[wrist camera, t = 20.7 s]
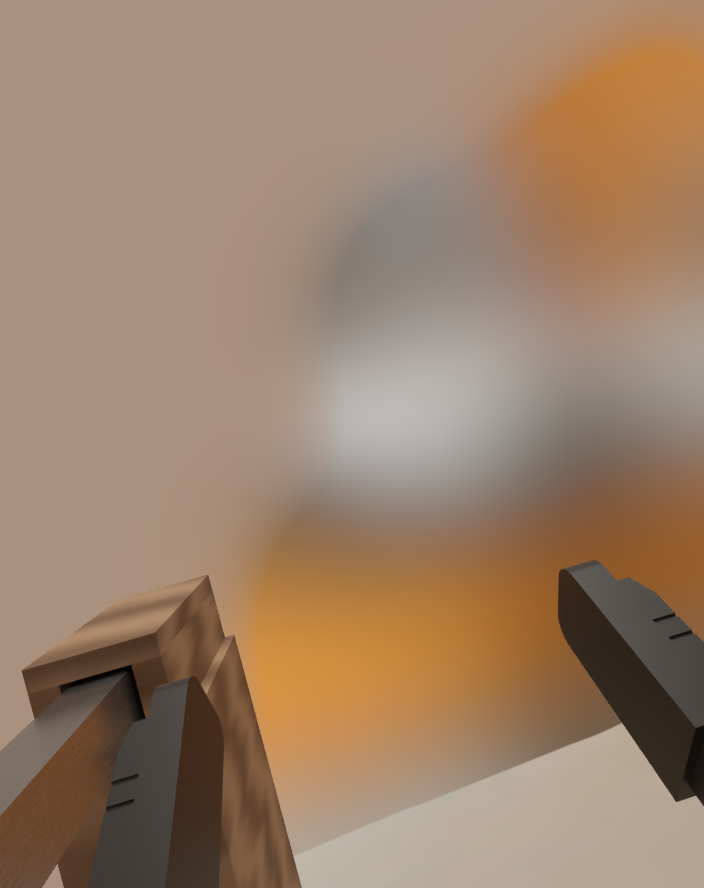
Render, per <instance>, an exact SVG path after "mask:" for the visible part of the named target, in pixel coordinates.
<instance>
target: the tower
mask: <svg viewBox="0 0 704 888" xmlns="http://www.w3.org/2000/svg"><path fill="white" fill-rule="evenodd" d="M128 665H132V669H133V673H134V676H135V680H136V684H137V688H138V691H139V695H140V699H141V703H142V706H143V710H144V714H145V718H146V719H147V718H149V713H150V707H151V701H152V696H153V693H154V690H155V688H156V687H157V686H159V685H163V684H166V683H170V682H173V681H177V680H180V679H183V678H187V677H190V676H195V677H196V678H197V679H198V681H199V683H200V684H201V686H202V688H203V690H204V691H205V693H206V695H207V697H208V699H209V700H210V702H211V704H212V706H213V707H214V709H215V711H216V713H217V715H218V717H219V719H220V722H221V726H222V731H223V738H224V764H223V793H222V821H221V849H220V878H219V888H302V887H301V883H300V880H299V876H298V872H297V869H296V865H295V861H294V857H293V854H292V850H291V846H290V842H289V839H288V835H287V831H286V827H285V824H284V820H283V816H282V813H281V809H280V805H279V801H278V797H277V794H276V790H275V786H274V782H273V779H272V775H271V771H270V767H269V764H268V760H267V756H266V752H265V749H264V745H263V741H262V737H261V734H260V730H259V726H258V722H257V719H256V715H255V712H254V707H253V704H252V700H251V696H250V692H249V689H248V685H247V681H246V677H245V674H244V670H243V666H242V662H241V659H240V655H239V651H238V647H237V644H236V640H235V636H234V635H233V636H230V637H226V638H225V636H224V633H223V629H222V626H221V621H220V618H219V614H218V610H217V606H216V603H215V599H214V595H213V591H212V588H211V584H210V580H209V577H208V575H206V576H202V577H198V578H195V579H191V580H188V581H184V582H181V583H177V584H173V585H170V586H166V587H163V588H159V589H156V590H152V591H148V592H145V593H141V594H138V595H134V596H130V597H127V598H123V599H120V600H118V601H117V602H115V603H114V604H113V605H111V606H110V607H108V608H107V609H105V610H104V611H103V612H101V613H100V614H99V615H97V616H96V617H95V618H93V619H92V620H90V621H89V622H88V623H86V624H85V625H84V626H82V627H81V628H79V629H78V630H77V631H75V632H74V633H73V634H71V635H70V636H69V637H67V638H66V639H64V640H63V641H62V642H60V643H59V644H58V645H56V646H55V647H53V648H52V649H51V650H49V651H48V652H47V653H45V654H44V655H42V656H41V657H40V658H39V659H37V660H36V661H34V662H33V663H31V664H30V665H29V666H27V667H26V668H25V669H24V670H22V673H23V677H24V681H25V685H26V688H27V692H28V696H29V700H30V704H31V707H32V711H33V715H34V718H36V717H37V716H39V715H40V714H41V713H42V712H43V711H44V710H45V709H46V708H47V707H48V706H49V705H50V704H51V703H52V702H54V701H55V700H56V699H57V698H58V697H59V696H60V695H61V694H62V693H63V692H64V691H65V690H66V689H67V688H69V687H70V686H71V685H72V684H73V683H74V682H75V681H76V680H79V679H83V678H86V677H90V676H93V675H97V674H100V673H103V672H107V671H110V670H114V669H117V668H121V667H124V666H128ZM111 786H112V783H111V780H110V782H109V784H108V785H107V787H106V788H105V790H104V791H103V793H102V794H101V796H100V798H99V799H98V801H97V802H96V804H95V805H94V807H93V809H92V810H91V812H90V813H89V815H88V816H87V818H86V819H85V821H84V823H83V824H82V826H81V827H80V829H79V830H78V832H77V834H76V835H75V837H74V838H73V840H72V841H71V843H70V845H69V846H68V848H67V849H66V851H65V852H64V854H63V855H62V857H61V859H60V860H59V862H58V867H59V871H60V874H61V878H62V882H63V886H64V888H88V884H89V880H90V875H91V871H92V866H93V862H94V857H95V852H96V848H97V843H98V839H99V834H100V830H101V825H102V820H103V816H104V814H105V813H106V808H105V807H106V802H107V798H108V793H109V788H111Z"/></svg>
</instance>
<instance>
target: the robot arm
mask: <svg viewBox="0 0 704 888" xmlns="http://www.w3.org/2000/svg"><path fill="white" fill-rule="evenodd" d="M558 619H559V624H560V627H561V630H562V633H563V635H564V637H565V639H566V641H567V643H568V644H569V646H570V647H571V649H572V650H573V652H574V653H575V654H576V656H577V657H578V659H579V660H580V662H581V663H582V665H583V666H584V668H585V669H586V671H587V672H588V674H589V675H590V677H591V678H592V679H593V681H594V682H595V684H596V685H597V687H598V688H599V690H600V691H601V693H602V694H603V696H604V697H605V698H606V700H607V701H608V703H609V704H610V706H611V707H612V709H613V710H614V712H615V713H616V715H617V716H618V717H619V719H620V720H621V722H622V723H623V725H624V726H625V728H626V729H627V731H628V732H629V734H630V735H631V736H632V738H633V739H634V741H635V742H636V744H637V745H638V747H639V748H640V750H641V751H642V752H643V754H644V755H645V757H646V758H647V760H648V761H649V763H650V764H651V766H652V767H653V769H654V770H655V771H656V773H657V774H658V776H659V777H660V779H661V780H662V782H663V783H664V785H665V786H666V788H667V789H668V790H669V792H670V793H671V795H672V796H673V798H674V799H675V801H676V802H678V801H681V800H684V799H687V798H690V797H693V796H697V797H698V799H699V800H700V802H701V803H702V804H703V806H704V642H703V641H702V640H701V639H700V638H699V637H698V636H697V635H696V634H695V635H694V634H693V633H692V630H691V629H690V628H689V627H688V626H687V625H686V624H685V623H684V622H683V621H682V620H681V618H680V617H676V615H675V612H674V611H673V610H672V609H671V608H670V607H669V606H668V605H667V604H666V603H665V602H664V601H663V600H662V599H661V598H660V597H659V596H658V595H657V594H656V593H655V592H653V591H652V590H650V589H648V588H647V587H644V586H643V585H641V584H640V583H638V582H636V581H634V580H632V579H631V578H625V579H621V580H618V581H617V580H616V579H615V578H614V577H613V576H612V575H611V574H610V573H609V571H608V570H607V569H606V568H605V567H604V566H603V565H602V564H601V563H600V562H598V561H596V560H592V561H588V562H585V563H581V564H578V565H575V566H571V567H568V568H564V569H562V570H560V572H559V592H558ZM223 764H224V738H223V731H222V726H221V722H220V719H219V717H218V715H217V713H216V711H215V709H214V707H213V706H212V704H211V702H210V700H209V699H208V697H207V695H206V693H205V691H204V690H203V688H202V686H201V684H200V683H199V681H198V679H197V678H196V677H195V676H190V677H187V678H183V679H180V680H177V681H173V682H170V683H166V684H163V685H159V686H157V687H156V688H155V690H154V693H153V696H152V701H151V707H150V713H149V718H147V719H144V720H140V721H137V722H134V723H133V724H132V726H131V728H130V730H129V732H128V734H127V735H126V737H125V739H124V741H123V743H122V744H121V746H120V748H119V750H118V752H117V756H116V761H115V766H114V770H113V775H112V779H111V783H112V786H111V788H109V793H108V798H107V802H106V807H105V808H106V813H105V814H104V816H103V820H102V825H101V830H100V834H99V839H98V843H97V848H96V852H95V857H94V862H93V866H92V871H91V875H90V880H89V884H88V888H219V878H220V849H221V821H222V793H223Z"/></svg>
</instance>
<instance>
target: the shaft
mask: <svg viewBox="0 0 704 888" xmlns="http://www.w3.org/2000/svg"><path fill="white" fill-rule="evenodd" d="M144 719H146V718H145V714H144V710H143V706H142V703H141V699H140V695H139V691H138V688H137V684H136V680H135V676H134V673H133V669H132V665H128V666H124V667H121V668H117V669H114V670H110V671H107V672H103V673H100V674H97V675H93V676H90V677H86V678H83V679H79V680H76V681H75V682H74V683H73V684H72V685H71V686H70V687H69V688H67V689H66V690H65V691H64V692H63V693H62V694H61V695H60V696H59V697H58V698H57V699H56V700H55V701H54V702H52V703H51V704H50V705H49V706H48V707H47V708H46V709H45V710H44V711H43V712H42V713H41V714H40V715H39V716H37V717H36V718H35V719H34V720H33V721H32V722H31V723H30V724H29V725H28V726H27V727H26V728H25V729H24V730H23V731H21V732H20V733H19V734H18V735H17V736H16V737H15V738H14V739H13V740H12V741H11V742H10V743H9V744H7V745H6V746H5V747H4V748H3V749H2V750H1V751H0V888H42V887H43V885H44V884H45V882H46V880H47V879H48V877H49V876H50V874H51V873H52V871H53V870H54V868H55V866H56V865H57V863H58V862H59V860H60V859H61V857H62V855H63V854H64V852H65V851H66V849H67V848H68V846H69V845H70V843H71V841H72V840H73V838H74V837H75V835H76V834H77V832H78V830H79V829H80V827H81V826H82V824H83V823H84V821H85V819H86V818H87V816H88V815H89V813H90V812H91V810H92V809H93V807H94V805H95V804H96V802H97V801H98V799H99V798H100V796H101V794H102V793H103V791H104V790H105V788H106V787H107V785H108V784H109V782H110V780H111V779H112V775H113V770H114V766H115V761H116V756H117V752H118V750H119V748H120V746H121V744H122V743H123V741H124V739H125V737H126V735H127V734H128V732H129V730H130V728H131V726H132V724H133V723H134V722H137V721H140V720H144Z"/></svg>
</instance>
